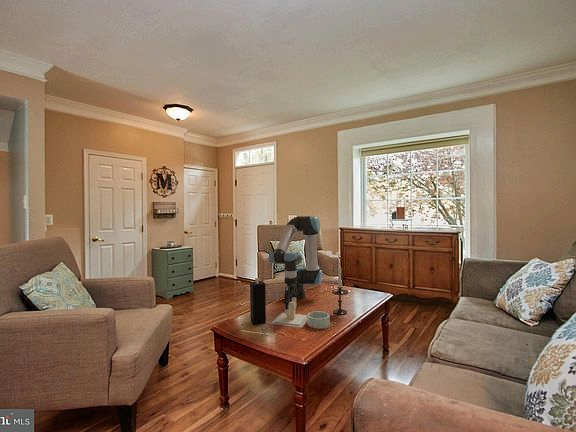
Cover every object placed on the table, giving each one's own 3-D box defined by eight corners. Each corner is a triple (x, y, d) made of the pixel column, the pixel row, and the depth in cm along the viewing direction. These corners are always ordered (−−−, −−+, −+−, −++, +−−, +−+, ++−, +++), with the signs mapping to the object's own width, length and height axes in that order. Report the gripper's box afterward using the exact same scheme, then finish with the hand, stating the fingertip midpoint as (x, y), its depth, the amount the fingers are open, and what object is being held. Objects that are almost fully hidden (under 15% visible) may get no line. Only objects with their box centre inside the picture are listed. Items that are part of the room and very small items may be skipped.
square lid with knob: (283, 313, 195) (283, 297, 195) (306, 316, 190) (306, 299, 190) (274, 322, 180) (274, 305, 180) (299, 325, 175) (299, 307, 175)
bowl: (310, 319, 186) (310, 310, 185) (331, 322, 181) (331, 312, 181) (305, 327, 173) (305, 317, 173) (327, 330, 169) (326, 320, 169)
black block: (250, 321, 184) (249, 277, 183) (262, 320, 186) (261, 275, 186) (253, 326, 176) (252, 279, 176) (266, 324, 179) (265, 278, 178)
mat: (281, 313, 198) (281, 312, 198) (310, 316, 191) (310, 315, 191) (270, 324, 179) (270, 323, 179) (301, 328, 172) (301, 327, 172)
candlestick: (348, 315, 192) (347, 262, 191) (331, 314, 194) (330, 261, 193) (348, 310, 202) (347, 259, 201) (332, 309, 204) (331, 259, 204)
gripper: (291, 272, 197) (291, 304, 198) (277, 281, 174) (278, 316, 174) (301, 273, 195) (302, 305, 195) (289, 281, 171) (290, 318, 172)
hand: (290, 310), depth 185 cm, fingers open, 13 cm apart
